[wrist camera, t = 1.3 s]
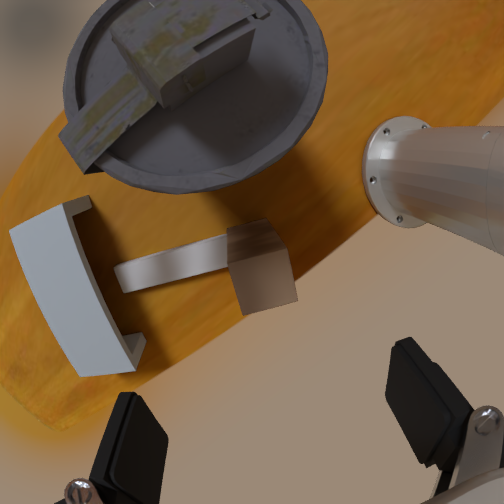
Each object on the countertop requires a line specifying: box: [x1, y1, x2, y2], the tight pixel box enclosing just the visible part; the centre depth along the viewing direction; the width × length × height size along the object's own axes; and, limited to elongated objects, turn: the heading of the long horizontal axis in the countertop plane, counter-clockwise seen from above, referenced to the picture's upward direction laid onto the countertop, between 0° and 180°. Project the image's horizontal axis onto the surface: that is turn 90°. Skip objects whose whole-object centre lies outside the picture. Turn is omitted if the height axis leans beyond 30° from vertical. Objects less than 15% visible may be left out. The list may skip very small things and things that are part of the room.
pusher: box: [113, 218, 298, 316], centre depth 24 cm, size 16×4×10 cm, turn 104°
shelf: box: [9, 195, 147, 377], centre depth 26 cm, size 8×18×6 cm, turn 14°
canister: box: [58, 0, 328, 195], centre depth 15 cm, size 11×10×20 cm
